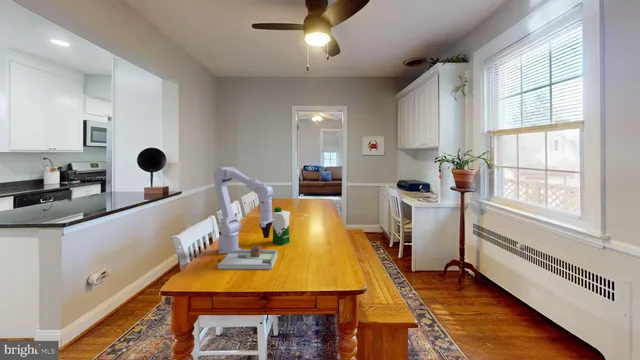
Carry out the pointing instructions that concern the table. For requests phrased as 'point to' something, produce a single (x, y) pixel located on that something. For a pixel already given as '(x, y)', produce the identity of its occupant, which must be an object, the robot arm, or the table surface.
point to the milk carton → (280, 226)
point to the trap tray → (248, 260)
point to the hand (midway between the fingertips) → (266, 237)
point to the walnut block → (255, 251)
